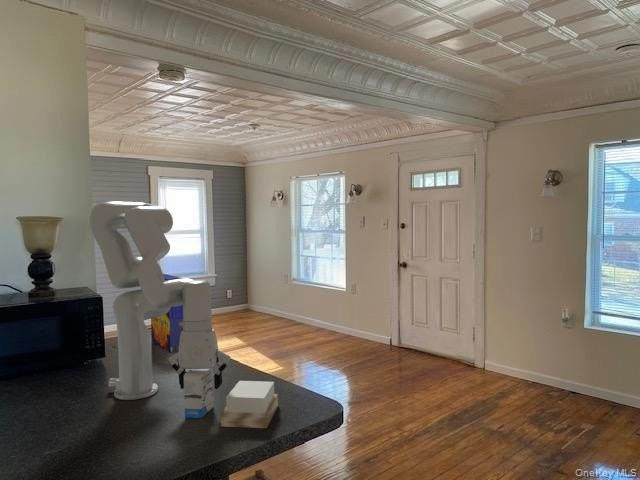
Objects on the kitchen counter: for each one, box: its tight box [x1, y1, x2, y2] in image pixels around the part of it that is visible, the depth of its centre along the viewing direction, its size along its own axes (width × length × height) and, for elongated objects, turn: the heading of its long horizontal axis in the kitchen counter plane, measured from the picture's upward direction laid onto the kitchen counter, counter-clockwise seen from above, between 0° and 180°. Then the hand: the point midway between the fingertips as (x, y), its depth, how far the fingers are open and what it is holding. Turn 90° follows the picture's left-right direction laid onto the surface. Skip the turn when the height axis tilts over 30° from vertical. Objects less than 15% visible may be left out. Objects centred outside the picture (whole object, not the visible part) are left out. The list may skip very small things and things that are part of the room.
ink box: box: [183, 368, 215, 420], centre depth 127 cm, size 9×5×12 cm, turn 168°
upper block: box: [225, 380, 275, 414], centre depth 124 cm, size 10×12×4 cm
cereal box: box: [150, 273, 184, 354], centre depth 194 cm, size 22×6×30 cm, turn 39°
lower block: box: [220, 393, 279, 429], centre depth 125 cm, size 12×14×4 cm
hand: (200, 387), depth 127 cm, fingers open, 9 cm apart
